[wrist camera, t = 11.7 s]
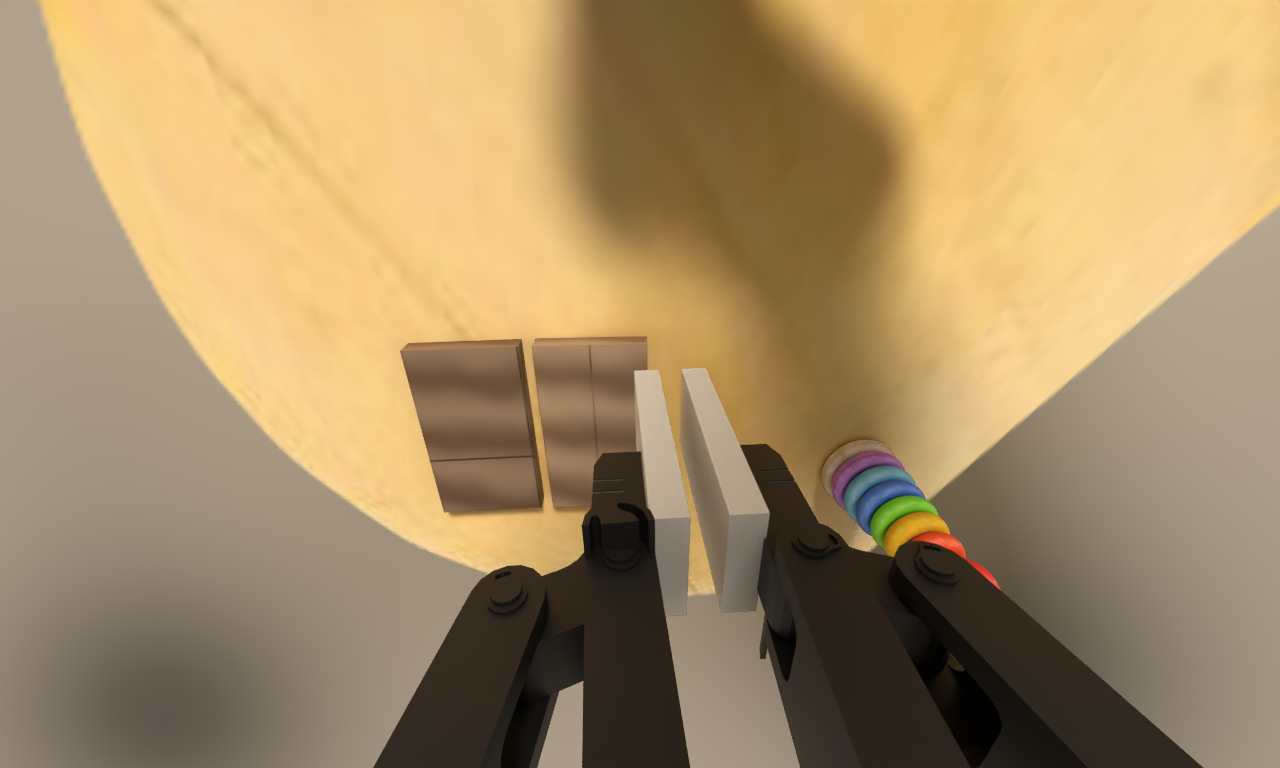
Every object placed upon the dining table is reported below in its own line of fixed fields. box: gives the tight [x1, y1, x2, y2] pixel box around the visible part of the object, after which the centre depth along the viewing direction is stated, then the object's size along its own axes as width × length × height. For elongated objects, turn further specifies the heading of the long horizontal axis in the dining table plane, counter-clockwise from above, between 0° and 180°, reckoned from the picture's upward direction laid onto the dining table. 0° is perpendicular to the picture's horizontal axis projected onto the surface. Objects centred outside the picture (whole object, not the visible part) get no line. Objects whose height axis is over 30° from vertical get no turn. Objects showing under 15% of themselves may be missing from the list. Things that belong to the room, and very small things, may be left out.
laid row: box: [400, 339, 544, 512], centre depth 44 cm, size 18×10×2 cm, turn 2°
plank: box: [532, 337, 647, 507], centre depth 44 cm, size 18×10×2 cm, turn 2°
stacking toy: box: [822, 440, 1000, 589], centre depth 42 cm, size 8×8×19 cm
